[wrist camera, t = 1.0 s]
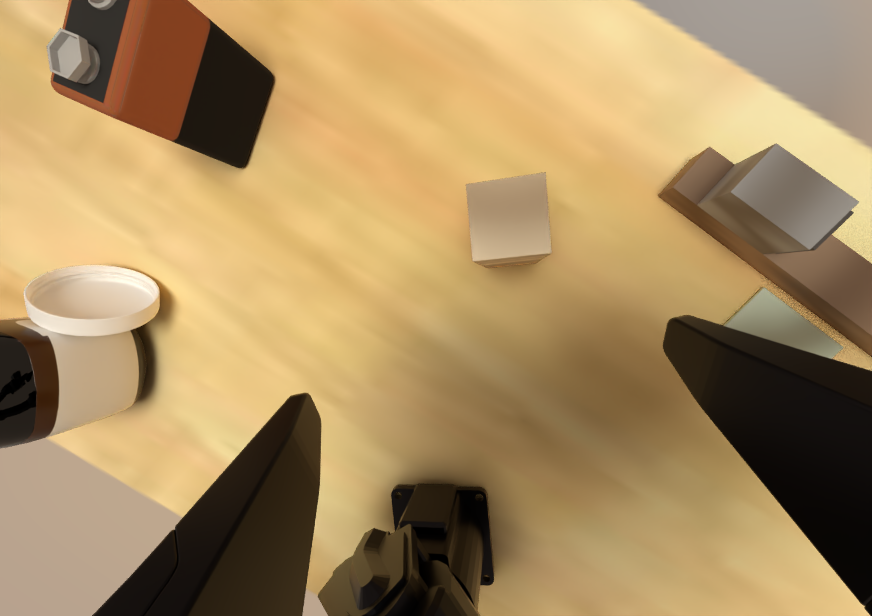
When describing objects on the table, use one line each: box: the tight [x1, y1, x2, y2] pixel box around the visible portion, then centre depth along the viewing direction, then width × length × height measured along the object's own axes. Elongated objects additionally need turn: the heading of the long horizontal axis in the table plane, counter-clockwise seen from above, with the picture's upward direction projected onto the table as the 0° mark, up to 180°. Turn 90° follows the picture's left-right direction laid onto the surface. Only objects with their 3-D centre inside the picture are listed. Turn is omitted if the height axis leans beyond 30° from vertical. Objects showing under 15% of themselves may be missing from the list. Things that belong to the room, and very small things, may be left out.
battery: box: [47, 0, 273, 168], centre depth 21 cm, size 4×7×10 cm, turn 157°
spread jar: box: [0, 265, 160, 448], centre depth 24 cm, size 12×11×12 cm
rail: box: [658, 144, 872, 359], centre depth 18 cm, size 20×8×5 cm, turn 51°
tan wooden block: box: [466, 172, 552, 268], centre depth 19 cm, size 3×3×9 cm
